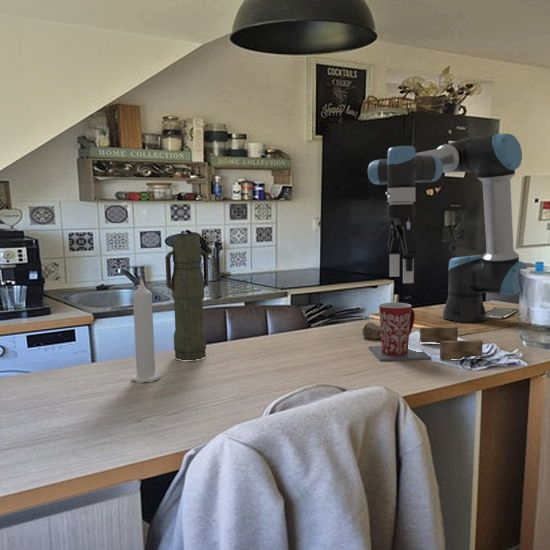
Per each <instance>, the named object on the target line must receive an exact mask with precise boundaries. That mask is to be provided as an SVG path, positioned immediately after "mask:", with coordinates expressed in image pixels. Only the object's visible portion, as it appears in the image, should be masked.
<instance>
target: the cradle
mask: <svg viewBox="0 0 550 550" xmlns="http://www.w3.org/2000/svg"><path fill="white" fill-rule="evenodd" d="M458 328H459V327H457V326H456V325H455V326H429V327H428V326H423V327H420V328H419V342H420V341H421V342H436V343H440V344H439V360H440V359H441V360H440V361H442V362H443V360H451V359H461V358H463V357H470V356H482V357H483V345H484V344H483V342H484V341H482V340H481V339H469V340H467V339H466V340H458V336H459V335H458V334H459V333H458V331H459V329H458ZM451 361H452V360H451Z"/></svg>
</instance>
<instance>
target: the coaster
mask: <svg viewBox="0 0 550 550" xmlns="http://www.w3.org/2000/svg"><path fill="white" fill-rule="evenodd" d="M368 349H369V351H370V352H371V353H372V354H373V355H374V356H375V358H377V360H378V361H379V362H395V361H396V362H397V361H398V362H399V361H425V360H428V361H429V360H432V357H431V356H430V355H428V354H427V353H426V351H424V350H422V351H423V352H416V351H413V350H410V349H408V353H406V354H403V355H389V354H385V353H383V352H382V347H381V345H371V346H370V345H369V346H368Z"/></svg>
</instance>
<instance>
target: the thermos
mask: <svg viewBox="0 0 550 550" xmlns="http://www.w3.org/2000/svg"><path fill="white" fill-rule="evenodd" d="M201 255H202V258H201ZM171 257H172V263H173V272H172V268H171V266H172V264H171ZM202 261H203V262H202ZM201 262H202V266H201ZM202 267H203V269H202ZM202 270H203V272H202ZM209 277H210V276H209V255H208V252H206V250H204V249H201V244H200V240H199V237H198V235H197V234H195V233H177V234H176V235H174V238H173V242H172V251H169V252H168V253H167V254H166V255H165V280H166V282H165V283H166V285H165V286H166V288H167V289H169V290H171V295H172V296H171V297H172V299H173V305H174V328H175V331H174V333H173V350H174V354H175V355H174V358H175V357H176V358H177V359H181V360H196V359H201V358H203V357H205V356H206V357H207V355H206V353H207V352H206V349H207V338H206V337H207V334H206V332H205V329H204V328H205V327H204V303H203V302H204V301H203V299H204V296H205V288H206V287H208V286H209ZM206 357H205V358H206Z"/></svg>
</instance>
